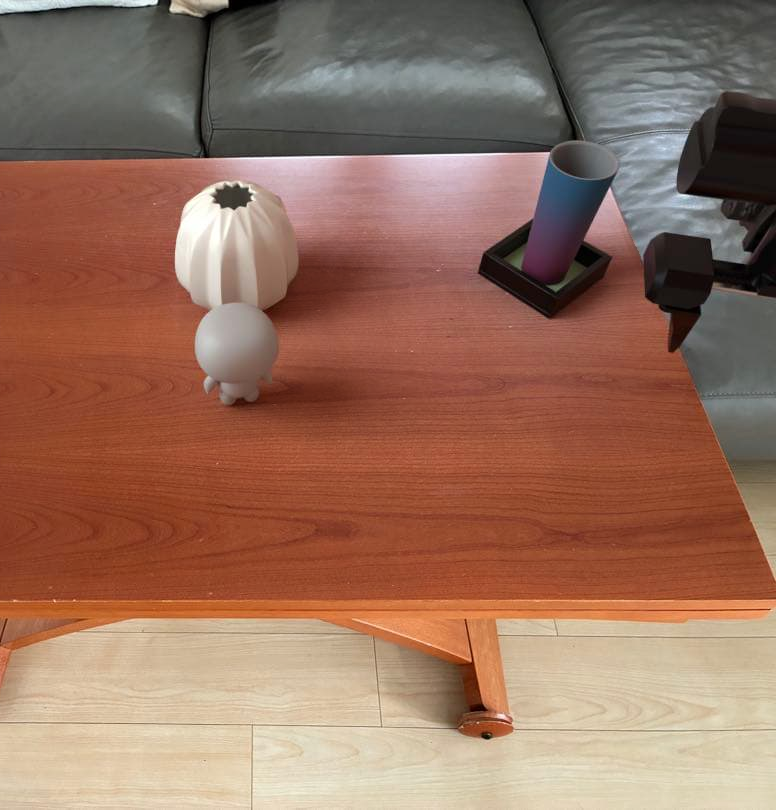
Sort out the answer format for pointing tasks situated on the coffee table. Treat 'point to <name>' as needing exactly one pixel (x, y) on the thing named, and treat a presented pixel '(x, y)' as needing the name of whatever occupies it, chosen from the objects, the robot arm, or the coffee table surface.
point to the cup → (567, 207)
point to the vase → (235, 246)
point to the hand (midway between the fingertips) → (728, 359)
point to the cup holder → (548, 300)
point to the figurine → (236, 350)
